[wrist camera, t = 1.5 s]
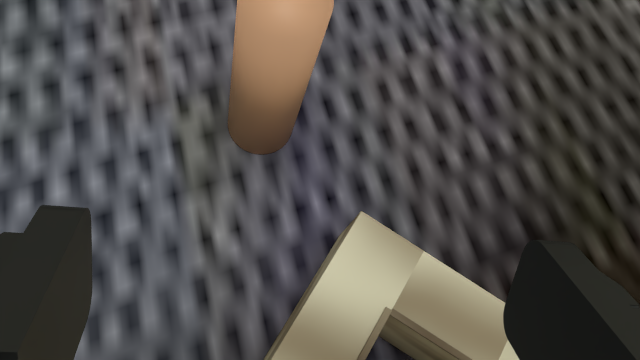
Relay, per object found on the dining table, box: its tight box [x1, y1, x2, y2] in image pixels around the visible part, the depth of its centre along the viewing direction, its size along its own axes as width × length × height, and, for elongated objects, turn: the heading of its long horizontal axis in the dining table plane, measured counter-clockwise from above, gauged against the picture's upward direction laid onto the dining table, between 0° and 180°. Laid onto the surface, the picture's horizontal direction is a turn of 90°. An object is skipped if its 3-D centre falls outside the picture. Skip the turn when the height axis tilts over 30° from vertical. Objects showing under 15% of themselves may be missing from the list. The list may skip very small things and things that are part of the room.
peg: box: [228, 0, 334, 154], centre depth 28 cm, size 4×4×12 cm
